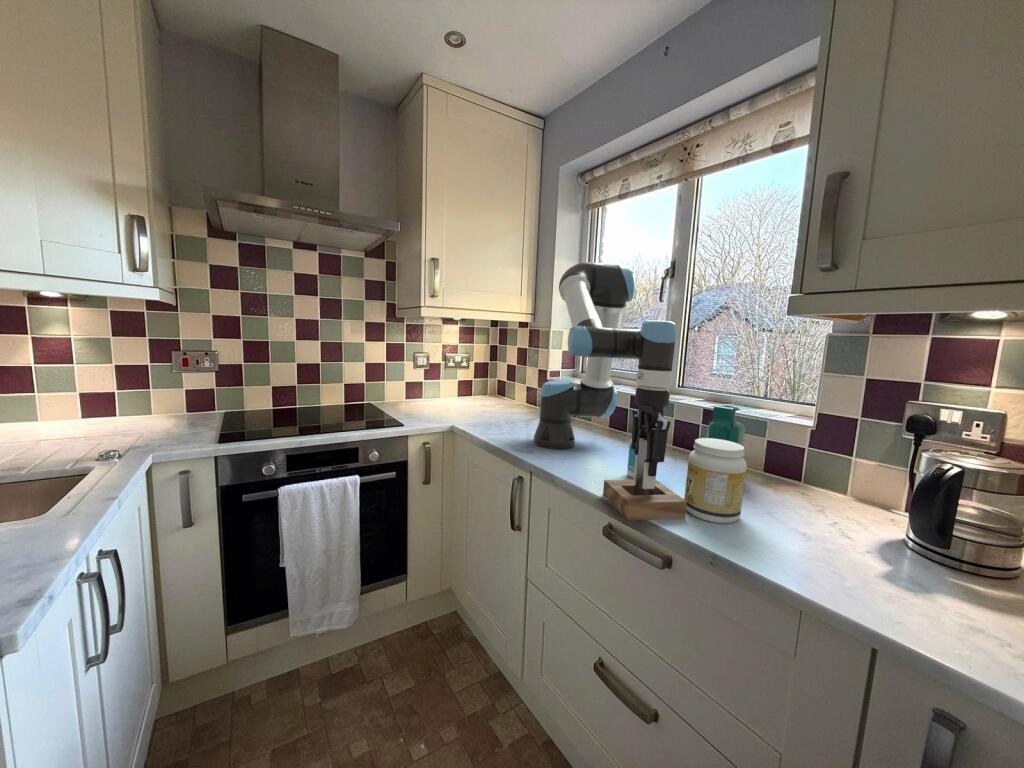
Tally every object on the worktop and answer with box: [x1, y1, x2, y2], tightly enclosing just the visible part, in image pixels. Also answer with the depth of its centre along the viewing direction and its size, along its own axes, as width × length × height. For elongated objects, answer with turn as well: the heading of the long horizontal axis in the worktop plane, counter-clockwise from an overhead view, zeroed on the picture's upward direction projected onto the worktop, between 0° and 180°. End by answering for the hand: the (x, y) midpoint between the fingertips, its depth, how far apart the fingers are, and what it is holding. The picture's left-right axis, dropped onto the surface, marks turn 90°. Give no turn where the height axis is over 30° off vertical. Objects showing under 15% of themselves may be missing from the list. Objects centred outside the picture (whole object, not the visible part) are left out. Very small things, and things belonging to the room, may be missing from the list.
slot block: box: [602, 479, 687, 521], centre depth 99 cm, size 14×14×4 cm
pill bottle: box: [626, 438, 636, 479], centre depth 120 cm, size 8×7×14 cm
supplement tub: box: [683, 437, 748, 524], centre depth 96 cm, size 12×12×17 cm
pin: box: [634, 437, 652, 495], centre depth 98 cm, size 4×4×14 cm
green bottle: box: [706, 405, 746, 447], centre depth 121 cm, size 10×8×22 cm
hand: (643, 484), depth 99 cm, fingers closed on pin, 4 cm apart
